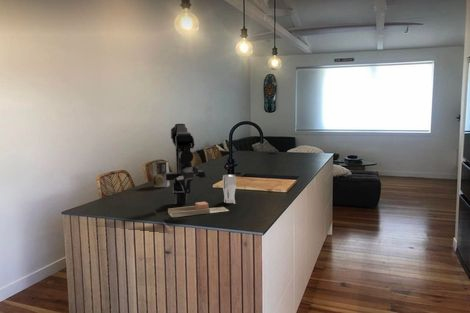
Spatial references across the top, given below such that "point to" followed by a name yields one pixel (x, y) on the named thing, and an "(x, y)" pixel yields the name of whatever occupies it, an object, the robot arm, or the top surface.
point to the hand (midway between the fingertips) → (185, 193)
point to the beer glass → (229, 188)
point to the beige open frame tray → (193, 211)
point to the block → (201, 205)
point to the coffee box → (160, 173)
